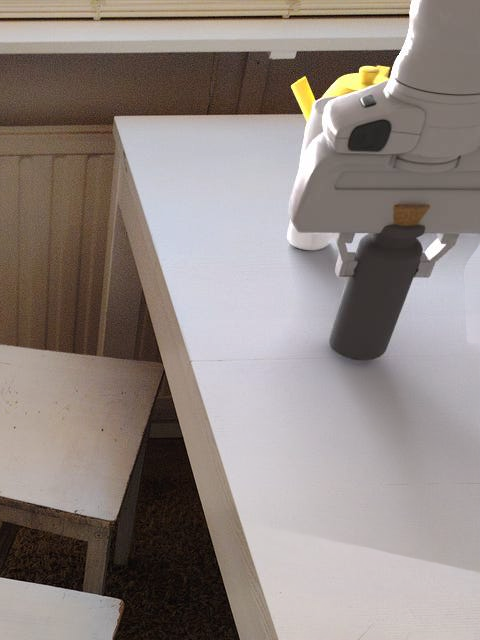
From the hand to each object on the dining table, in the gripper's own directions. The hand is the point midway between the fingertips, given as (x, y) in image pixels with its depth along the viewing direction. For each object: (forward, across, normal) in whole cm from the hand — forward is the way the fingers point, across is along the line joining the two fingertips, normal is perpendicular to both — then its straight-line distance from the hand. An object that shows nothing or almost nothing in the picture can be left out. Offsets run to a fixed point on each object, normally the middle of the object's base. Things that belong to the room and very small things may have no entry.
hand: (380, 274), depth 80 cm
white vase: (+9, +1, -25) cm, 26 cm away
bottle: (+8, 0, 0) cm, 8 cm away
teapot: (+9, -8, -51) cm, 52 cm away
